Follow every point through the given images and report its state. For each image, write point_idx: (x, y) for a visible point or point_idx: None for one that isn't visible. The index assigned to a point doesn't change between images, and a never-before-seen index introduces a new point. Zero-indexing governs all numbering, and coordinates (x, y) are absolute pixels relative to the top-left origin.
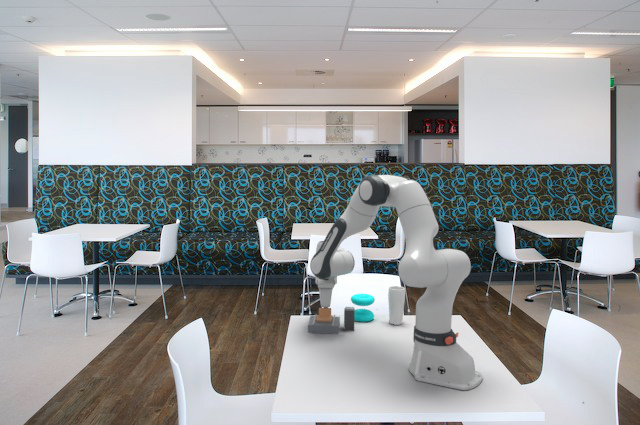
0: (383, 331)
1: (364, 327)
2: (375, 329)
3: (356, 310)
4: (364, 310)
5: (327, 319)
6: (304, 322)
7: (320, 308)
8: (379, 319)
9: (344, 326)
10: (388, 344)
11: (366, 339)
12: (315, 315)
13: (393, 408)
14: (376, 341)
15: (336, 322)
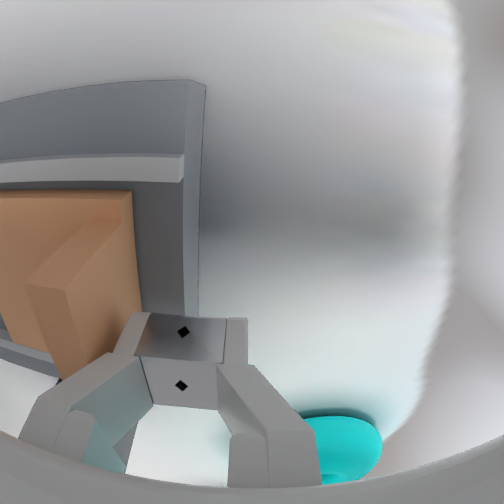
0: (129, 464)
1: (159, 438)
2: (144, 456)
3: (328, 471)
4: (330, 483)
5: (7, 311)
6: (218, 17)
7: (34, 311)
8: None
9: (60, 379)
10: (20, 431)
11: (17, 401)
12: (121, 164)
13: None
14: (20, 418)
15: (34, 358)
